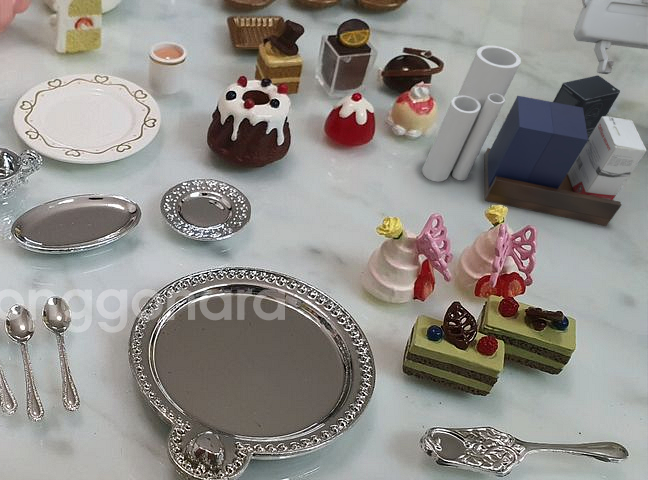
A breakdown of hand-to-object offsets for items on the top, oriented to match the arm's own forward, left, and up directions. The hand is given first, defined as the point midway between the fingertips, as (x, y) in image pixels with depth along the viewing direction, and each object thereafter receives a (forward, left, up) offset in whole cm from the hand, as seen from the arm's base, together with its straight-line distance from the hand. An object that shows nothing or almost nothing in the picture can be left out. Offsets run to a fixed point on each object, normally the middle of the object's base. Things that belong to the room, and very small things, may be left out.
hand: (636, 77), depth 118 cm
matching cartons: (+11, +7, -17) cm, 21 cm away
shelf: (+6, +7, -19) cm, 21 cm away
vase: (+22, +6, -19) cm, 29 cm away
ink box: (0, +7, -17) cm, 19 cm away
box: (+2, -10, -19) cm, 21 cm away
